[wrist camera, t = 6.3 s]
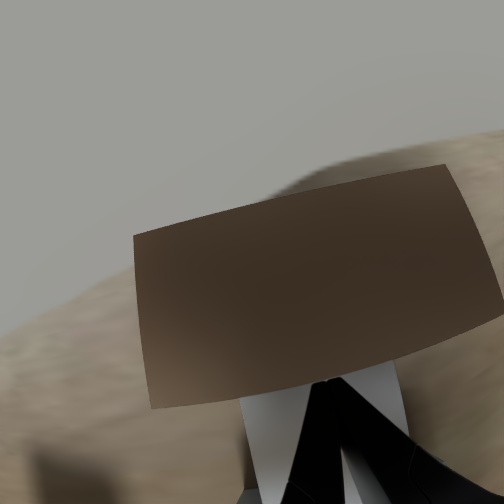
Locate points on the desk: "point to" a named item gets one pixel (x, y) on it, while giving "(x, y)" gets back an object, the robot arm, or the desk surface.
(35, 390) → the desk surface
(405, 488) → the robot arm
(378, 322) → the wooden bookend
